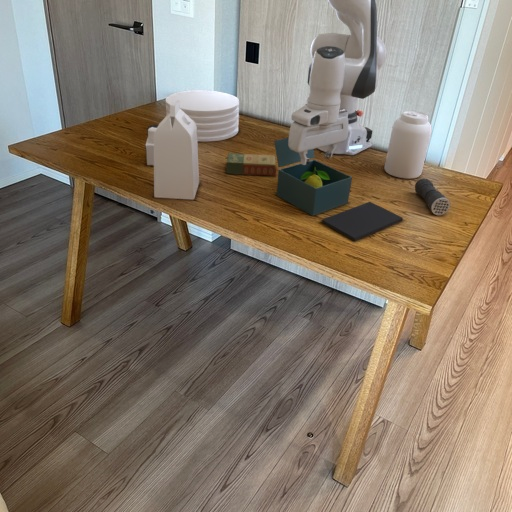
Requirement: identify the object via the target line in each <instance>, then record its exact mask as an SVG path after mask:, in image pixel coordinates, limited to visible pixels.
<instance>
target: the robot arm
mask: <svg viewBox="0 0 512 512" xmlns="http://www.w3.org/2000/svg"><path fill="white" fill-rule="evenodd" d="M327 2H328V4H329V6H330V7H331V8H332V9H333V10H334V11H335V15H336V18H337V20H338V21H339V22H341V23H342V24H343V25H345V26H346V27H347V28H348V30H349V32H350V34H347V33H346V34H344V33H337V32H325V33H319V34H318V35H316V36H315V37H314V39H313V40H312V42H311V45H310V58H311V59H312V62H311V63H310V64H309V67H308V73H307V82H306V83H307V84H308V86H309V93H308V96H307V100H306V103H305V104H304V105H302V106H301V107H299V108H298V109H296V110H294V111H293V112H292V113H291V120H292V123H291V125H290V128H289V132H288V138H289V140H288V146H289V148H290V149H291V150H293V151H295V152H297V153H299V155H300V157H301V162H300V163H301V164H302V165H307V164H308V163H309V161H310V159H309V158H307V157H306V154H307V151H308V150H311V149H318V150H320V151H322V152H324V158H325V159H332V158H333V155H334V154H335V155H347V156H355V155H357V154H359V153H360V152H363V151H365V150H367V149H369V148H371V147H372V146H373V142H371V141H370V140H371V139H372V137H373V130H372V129H370V128H369V127H367V126H364V125H362V124H361V122H360V121H358V117H360V118H361V117H363V115H364V112H363V110H359V109H358V110H357V103H358V99H362V100H364V99H366V98H368V97H370V96H371V95H372V94H374V93H375V92H376V89H377V87H378V84H379V70H381V68H382V67H383V66H384V65H385V63H386V60H387V56H388V52H387V51H388V50H387V46H386V44H385V42H384V41H383V40H382V39H381V38H380V37H379V35H378V19H377V18H378V10H377V3H376V0H327Z"/></svg>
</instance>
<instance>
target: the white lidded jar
mask: <svg viewBox="0 0 512 512" xmlns="http://www.w3.org/2000/svg"><path fill="white" fill-rule="evenodd" d="M432 132H433V131H432V124H431V123H430V121H429V115H427V114H426V113H424V112H421V111H417V110H406V111H403V112H402V113H401V114H400V117H399V118H397V119H396V120H394V122H393V124H392V128H391V132H390V136H389V137H390V138H389V143H388V147H387V152H386V157H385V161H384V168H383V169H384V171H385V173H387V174H388V175H390V176H392V177H396V178H399V179H410V180H411V179H416V178H419V177H420V176H421V175H422V173H423V169H424V165H425V162H426V157H427V154H428V149H429V145H430V141H431V137H432V134H433V133H432Z"/></svg>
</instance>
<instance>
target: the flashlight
mask: <svg viewBox="0 0 512 512" xmlns="http://www.w3.org/2000/svg"><path fill="white" fill-rule="evenodd" d="M414 190H415V192H416V194H417V195H418V196H420V197H421V198H422V199H423V200H424V201H425V204H426V205H427V206H428V209H429V210H430V211H431V212H432V213H433V215H436V216H444V215H446V214H447V213H448V212H449V211H450V209H451V206H452V205H451V204H452V203H451V201H450V200H449V199H448V198H447V197H446V195H444V194H442V192H441V191H439V190H437V189H436V187H435V186H434V184H433V182H432V181H431V180H430V179H428V178H420V179H418V180H417V181H416V182H415V184H414Z"/></svg>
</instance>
